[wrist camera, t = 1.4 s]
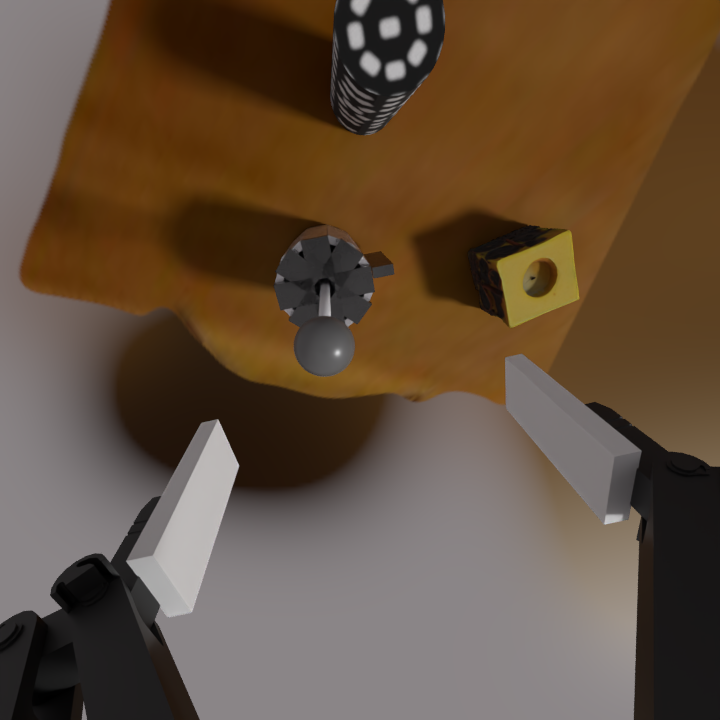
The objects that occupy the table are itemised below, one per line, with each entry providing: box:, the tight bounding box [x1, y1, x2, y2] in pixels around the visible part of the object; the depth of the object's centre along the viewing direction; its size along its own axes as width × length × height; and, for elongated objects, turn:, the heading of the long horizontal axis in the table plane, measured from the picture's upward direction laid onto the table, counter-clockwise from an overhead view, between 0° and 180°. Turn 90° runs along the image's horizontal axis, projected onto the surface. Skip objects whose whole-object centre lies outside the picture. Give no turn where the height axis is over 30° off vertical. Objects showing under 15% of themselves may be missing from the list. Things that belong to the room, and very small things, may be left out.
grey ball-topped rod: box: [294, 245, 355, 377], centre depth 33 cm, size 8×8×24 cm
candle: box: [468, 225, 579, 328], centre depth 51 cm, size 10×10×10 cm
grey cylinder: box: [274, 225, 394, 327], centre depth 45 cm, size 10×13×16 cm
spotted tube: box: [330, 0, 445, 135], centre depth 35 cm, size 8×8×20 cm
